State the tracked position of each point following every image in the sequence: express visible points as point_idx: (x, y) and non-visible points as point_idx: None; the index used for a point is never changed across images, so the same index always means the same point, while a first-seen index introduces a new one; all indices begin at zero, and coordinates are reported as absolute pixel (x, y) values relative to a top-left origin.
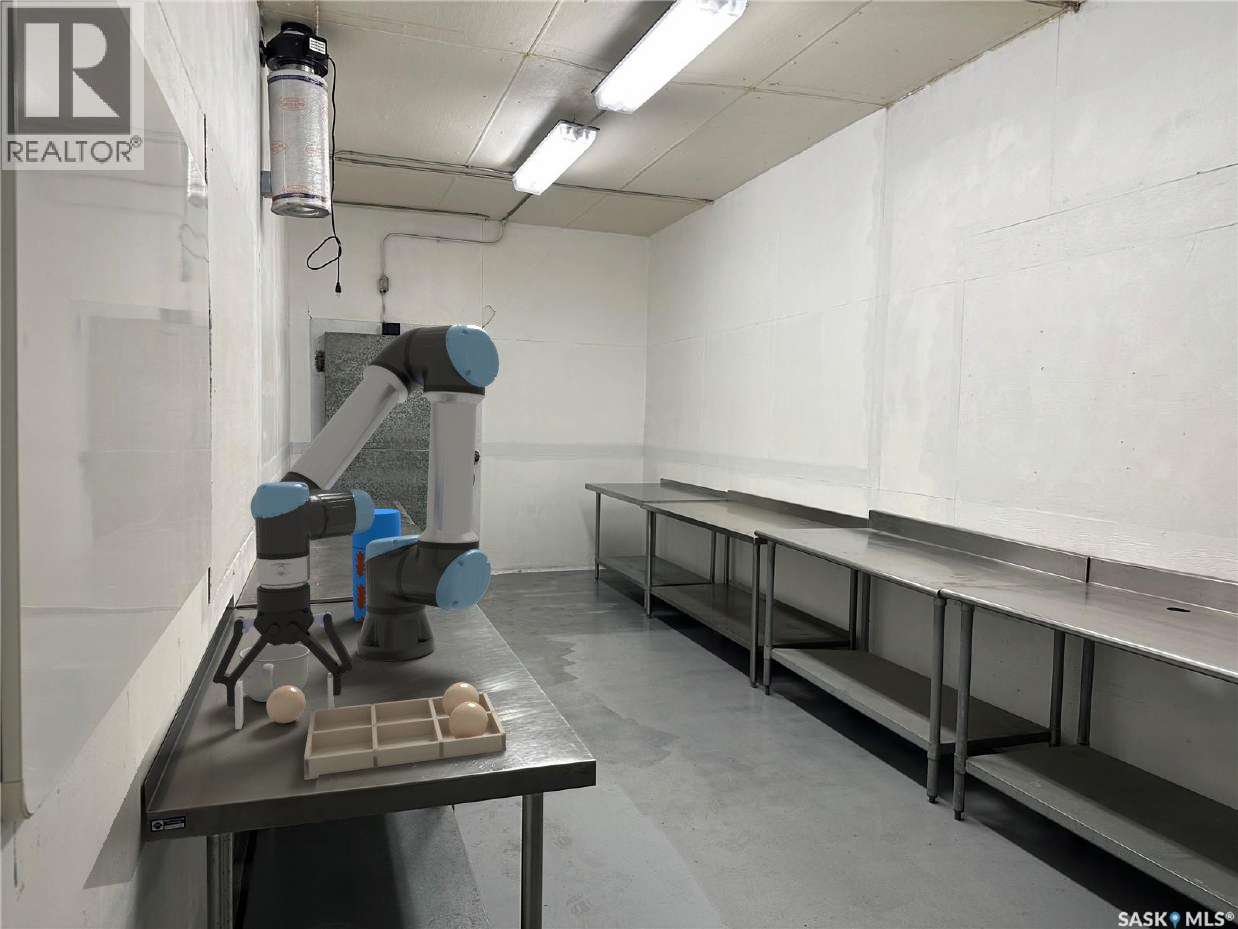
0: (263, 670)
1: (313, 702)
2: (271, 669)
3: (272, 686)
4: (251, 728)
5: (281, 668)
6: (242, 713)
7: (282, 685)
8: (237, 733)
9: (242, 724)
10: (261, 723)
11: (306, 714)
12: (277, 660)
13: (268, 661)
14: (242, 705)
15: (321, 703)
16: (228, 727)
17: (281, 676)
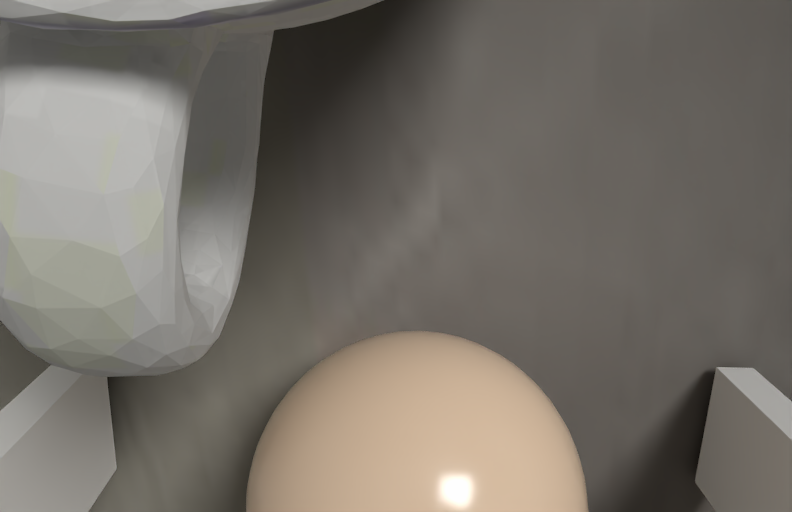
0: (37, 354)
1: (626, 32)
2: (168, 342)
3: (246, 233)
4: (184, 444)
5: (318, 5)
6: (68, 435)
7: (350, 12)
8: (109, 497)
9: (107, 399)
10: (238, 376)
11: (553, 304)
12: (210, 10)
13: (10, 16)
14: (32, 466)
15: (690, 85)
16: (17, 378)
17: (330, 11)
